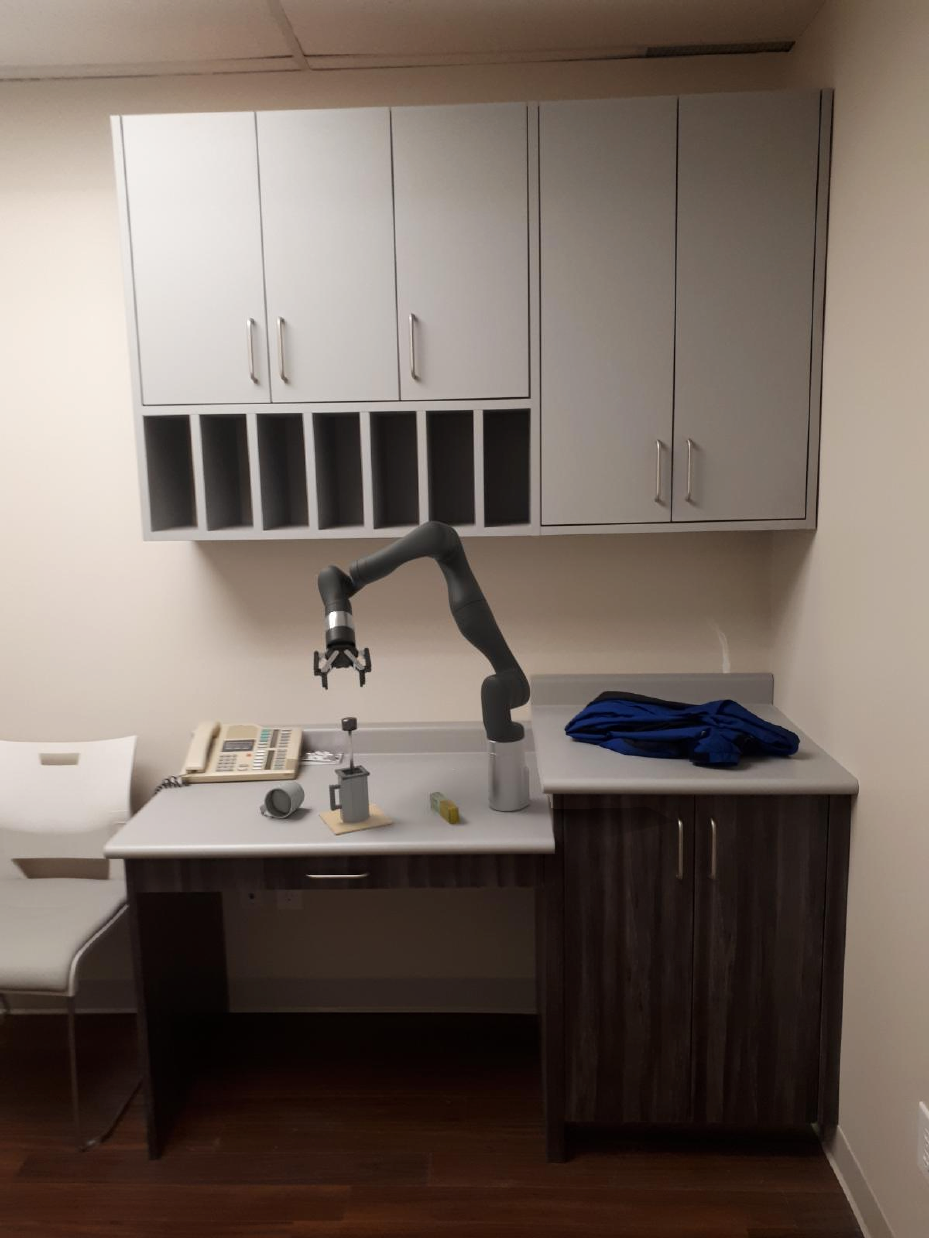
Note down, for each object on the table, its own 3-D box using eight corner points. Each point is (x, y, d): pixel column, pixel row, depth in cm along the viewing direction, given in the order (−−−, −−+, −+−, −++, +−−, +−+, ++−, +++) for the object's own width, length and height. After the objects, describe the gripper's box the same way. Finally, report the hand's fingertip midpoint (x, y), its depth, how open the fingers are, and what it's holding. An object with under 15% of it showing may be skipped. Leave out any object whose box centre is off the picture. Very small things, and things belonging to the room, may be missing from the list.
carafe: (373, 804, 225) (370, 758, 223) (392, 823, 213) (389, 774, 211) (318, 815, 220) (315, 767, 218) (335, 835, 207) (331, 785, 205)
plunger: (357, 771, 217) (354, 716, 215) (362, 776, 213) (358, 719, 211) (342, 774, 215) (339, 718, 213) (347, 778, 212) (343, 722, 210)
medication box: (430, 808, 222) (429, 793, 221) (440, 806, 223) (439, 790, 222) (449, 825, 211) (448, 808, 210) (460, 822, 212) (459, 806, 211)
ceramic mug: (307, 807, 225) (305, 777, 224) (293, 819, 218) (290, 788, 216) (269, 805, 228) (266, 776, 227) (253, 817, 220) (250, 787, 219)
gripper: (368, 639, 234) (373, 692, 225) (312, 643, 232) (315, 697, 222) (368, 622, 228) (373, 676, 219) (311, 626, 226) (313, 680, 216)
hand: (343, 686), depth 221 cm, fingers open, 8 cm apart
